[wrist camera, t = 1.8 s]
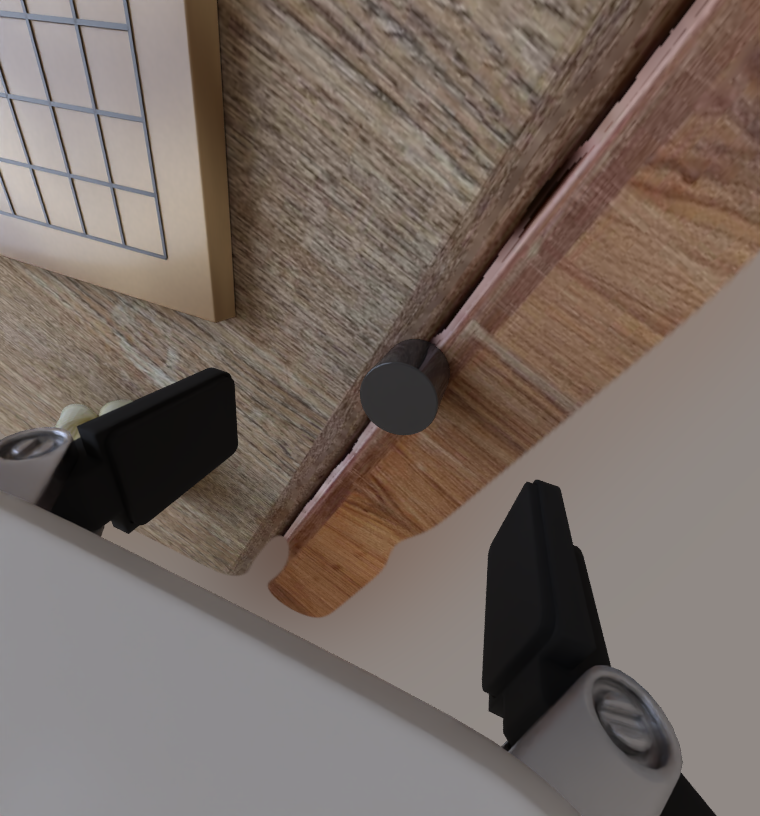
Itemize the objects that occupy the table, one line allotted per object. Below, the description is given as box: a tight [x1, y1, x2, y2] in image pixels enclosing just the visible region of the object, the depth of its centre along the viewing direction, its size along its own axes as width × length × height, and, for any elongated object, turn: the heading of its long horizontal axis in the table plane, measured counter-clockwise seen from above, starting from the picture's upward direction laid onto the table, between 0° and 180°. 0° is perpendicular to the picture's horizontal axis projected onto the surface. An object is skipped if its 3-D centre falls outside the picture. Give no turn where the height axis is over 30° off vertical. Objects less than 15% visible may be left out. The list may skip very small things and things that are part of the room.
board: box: [0, 0, 236, 323], centre depth 13 cm, size 20×20×2 cm
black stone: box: [360, 339, 450, 435], centre depth 14 cm, size 3×3×3 cm
